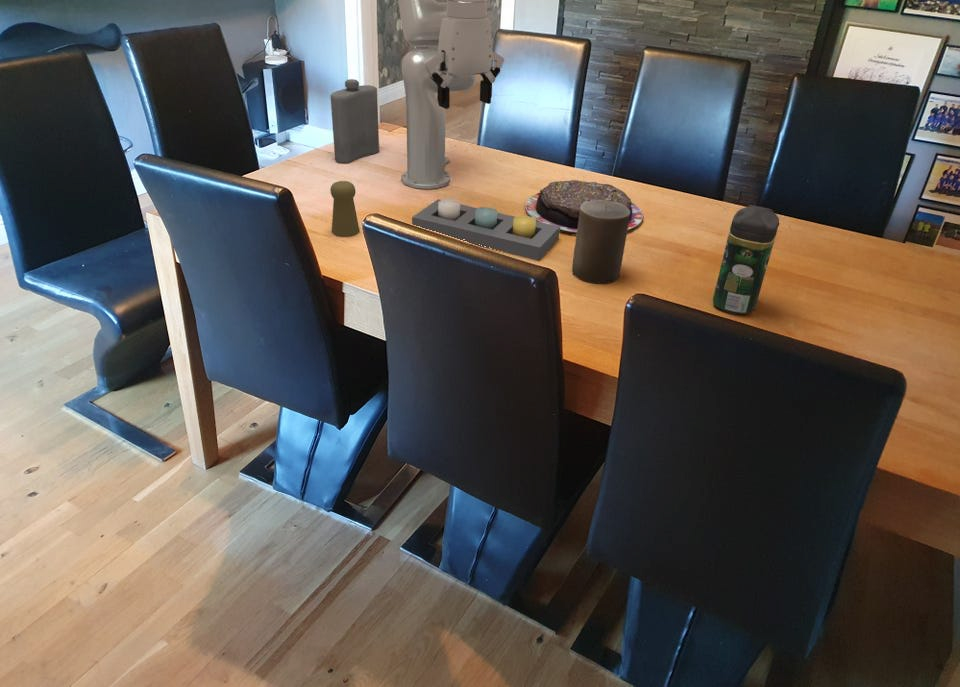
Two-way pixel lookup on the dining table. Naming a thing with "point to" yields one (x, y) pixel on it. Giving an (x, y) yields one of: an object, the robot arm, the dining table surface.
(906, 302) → the dining table surface
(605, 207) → the pillar candle
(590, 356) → the dining table surface
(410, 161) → the robot arm
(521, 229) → the mustard button
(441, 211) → the ivory button
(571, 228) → the chocolate cake
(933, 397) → the dining table surface
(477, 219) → the teal button
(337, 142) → the flask
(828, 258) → the dining table surface
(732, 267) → the coffee jar
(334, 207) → the cork
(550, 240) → the console
